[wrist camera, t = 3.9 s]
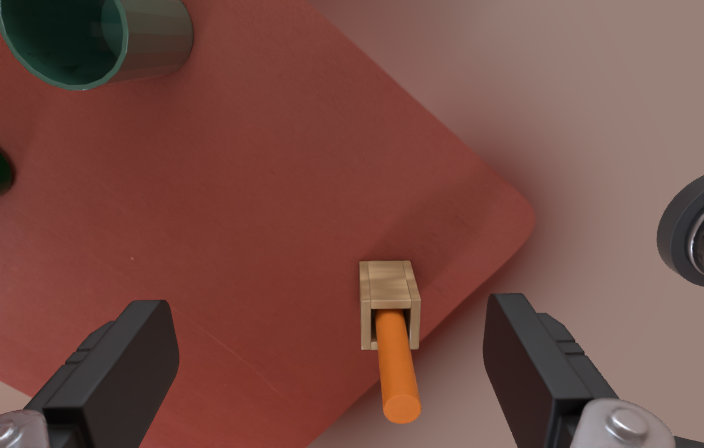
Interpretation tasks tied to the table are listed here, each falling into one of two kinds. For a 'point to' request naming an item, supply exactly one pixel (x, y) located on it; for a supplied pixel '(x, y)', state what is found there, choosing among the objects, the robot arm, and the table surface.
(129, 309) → the robot arm
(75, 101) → the table surface
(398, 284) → the stand
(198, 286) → the table surface
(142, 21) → the green cylindrical cup
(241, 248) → the table surface
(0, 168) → the soda can
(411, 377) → the orange rod
